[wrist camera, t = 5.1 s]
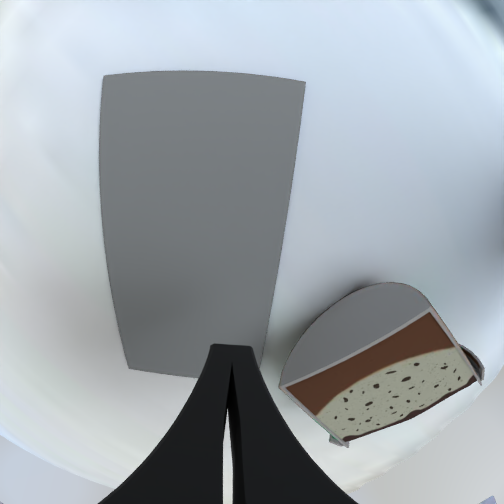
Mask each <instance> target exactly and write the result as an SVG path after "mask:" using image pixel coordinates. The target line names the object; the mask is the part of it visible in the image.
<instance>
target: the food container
mask: <svg viewBox="0 0 504 504" xmlns="http://www.w3.org/2000/svg"><path fill="white" fill-rule="evenodd" d="M484 370H485V368H484V366H483V365H482V363H481V361H480V360H479V359H478V358H477V356H476V355H475V354H474V353H473V352H472V351H470V350H469V349H467V348H466V347H464V346H463V345H460V344H458V343H457V341H456V340H455V338H454V337H453V335H452V334H451V332H450V331H449V329H448V328H447V326H446V325H445V323H444V322H443V320H442V319H441V318H440V316H439V315H438V313H437V312H436V310H435V309H434V308H433V306H432V305H431V304H430V302H429V301H428V299H427V298H426V297H425V296H424V295H423V294H422V293H421V292H420V291H419V290H417V289H415V288H413V287H411V286H409V285H406V284H402V283H394V282H389V283H380V284H375V285H371V286H368V287H365V288H362V289H360V290H358V291H355V292H353V293H351V294H349V295H348V296H346V297H344V298H342V299H341V300H339V301H338V302H337V303H335V304H334V305H332V306H331V307H330V308H329V309H328V310H326V311H325V312H324V313H323V314H321V315H320V316H319V317H318V318H317V319H316V320H315V322H314V323H313V324H312V325H311V326H310V327H309V328H308V329H307V330H306V331H305V332H304V333H303V335H302V336H301V338H300V339H299V341H298V342H297V344H296V345H295V347H294V348H293V350H292V351H291V353H290V355H289V357H288V360H287V362H286V364H285V366H284V368H283V371H282V374H281V378H280V383H279V388H280V389H281V390H282V391H283V392H284V393H285V394H286V395H287V396H288V397H289V398H290V399H291V400H293V401H294V402H295V403H296V404H297V405H298V406H299V407H300V408H301V409H302V410H303V411H304V412H306V413H307V414H308V415H309V416H310V417H311V418H312V419H313V420H315V421H316V422H317V423H318V424H319V425H320V426H321V427H323V428H324V429H325V430H326V431H327V432H328V433H329V434H330V438H329V442H330V443H333V444H336V445H338V446H345V447H347V448H349V441H351V440H354V439H357V438H359V437H362V436H365V435H368V434H371V433H373V432H376V431H379V430H381V429H384V428H387V427H390V426H393V425H396V424H399V423H402V422H404V421H407V420H409V419H412V418H414V417H415V416H417V415H419V414H421V413H423V412H425V411H426V410H428V409H430V408H431V407H433V406H435V405H436V404H438V403H440V402H441V401H443V400H445V399H446V398H448V397H450V396H452V395H453V394H455V393H457V392H458V391H460V390H462V389H464V388H466V387H468V386H470V385H471V384H472V383H474V382H475V381H477V380H478V382H479V384H480V385H482V384H481V381H482V380H484Z"/></svg>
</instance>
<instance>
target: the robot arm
mask: <svg viewBox="0 0 504 504" xmlns="http://www.w3.org/2000/svg"><path fill="white" fill-rule="evenodd" d="M227 409H228V416H229V429H230V440H231V451H232V463H233V504H358V503H357V502H355V501H354V500H353V499H352V498H351V497H349V496H348V495H347V494H346V493H345V492H344V491H343V490H341V489H340V488H339V487H338V486H337V485H336V484H335V483H334V482H333V481H332V480H331V479H330V478H329V477H328V476H327V475H326V474H325V473H324V472H323V470H322V469H321V468H320V467H319V466H318V465H317V464H316V463H315V462H314V461H313V459H312V458H311V457H310V456H309V455H308V453H307V452H306V451H305V449H304V448H303V447H302V446H301V444H300V443H299V441H298V440H297V439H296V437H295V436H294V434H293V433H292V431H291V430H290V428H289V427H288V425H287V424H286V422H285V420H284V419H283V417H282V415H281V414H280V412H279V410H278V408H277V406H276V405H275V403H274V401H273V399H272V397H271V395H270V393H269V391H268V388H267V386H266V384H265V382H264V380H263V377H262V375H261V372H260V370H259V367H258V364H257V361H256V358H255V355H254V351H253V348H252V347H251V346H246V345H230V344H216V343H214V344H212V345H210V349H209V353H208V357H207V360H206V362H205V365H204V367H203V370H202V372H201V375H200V377H199V379H198V381H197V383H196V385H195V387H194V389H193V391H192V393H191V395H190V397H189V398H188V400H187V402H186V403H185V405H184V407H183V409H182V410H181V412H180V414H179V415H178V417H177V418H176V420H175V421H174V423H173V424H172V426H171V427H170V429H169V430H168V432H167V433H166V434H165V436H164V437H163V438H162V440H161V441H160V442H159V443H158V445H157V446H156V447H155V448H154V450H153V451H152V452H151V453H150V455H149V456H148V457H147V458H146V459H145V460H144V461H143V463H142V464H141V465H140V466H139V467H138V468H137V469H136V470H135V471H134V472H133V473H132V474H131V475H130V476H129V477H128V478H127V479H126V480H125V481H124V482H123V483H122V484H121V485H120V486H119V487H117V488H116V489H115V490H114V491H113V492H111V493H110V494H109V495H108V496H107V497H105V498H104V499H103V500H102V501H101V502H99V503H98V504H223V440H224V432H225V424H226V417H227ZM0 504H3V503H1V502H0ZM479 504H496V501H495V498H494V496H491V497H489V498H488V499H486V500H484V501H482V502H481V503H479Z"/></svg>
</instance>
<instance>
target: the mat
mask: <svg viewBox="0 0 504 504" xmlns="http://www.w3.org/2000/svg"><path fill="white" fill-rule="evenodd" d="M305 84H306V82H304V81H298V80H292V79H286V78H279V77H272V76H264V75H255V74H245V73H233V72H217V71H151V72H135V73H124V74H114V75H105V76H104V77H103V87H102V98H101V113H100V138H99V171H100V197H101V212H102V224H103V235H104V244H105V252H106V260H107V267H108V274H109V280H110V286H111V292H112V298H113V303H114V308H115V313H116V318H117V323H118V327H119V332H120V336H121V340H122V344H123V348H124V352H125V356H126V360H127V363H128V367H129V369H134V370H140V371H147V372H153V373H160V374H168V375H175V376H184V377H193V378H199V377H200V375H201V372H202V370H203V367H204V365H205V362H206V360H207V357H208V353H209V349H210V345H212V344H214V343H216V344H230V345H246V346H251V347H252V348H253V351H254V355H255V358H256V361H257V364H258V367H259V369H260V364H261V359H262V354H263V349H264V343H265V338H266V333H267V328H268V322H269V317H270V312H271V306H272V301H273V295H274V290H275V284H276V278H277V273H278V267H279V261H280V255H281V249H282V243H283V237H284V231H285V225H286V219H287V213H288V206H289V200H290V193H291V187H292V180H293V173H294V167H295V160H296V153H297V146H298V138H299V131H300V124H301V116H302V108H303V101H304V93H305Z"/></svg>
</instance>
